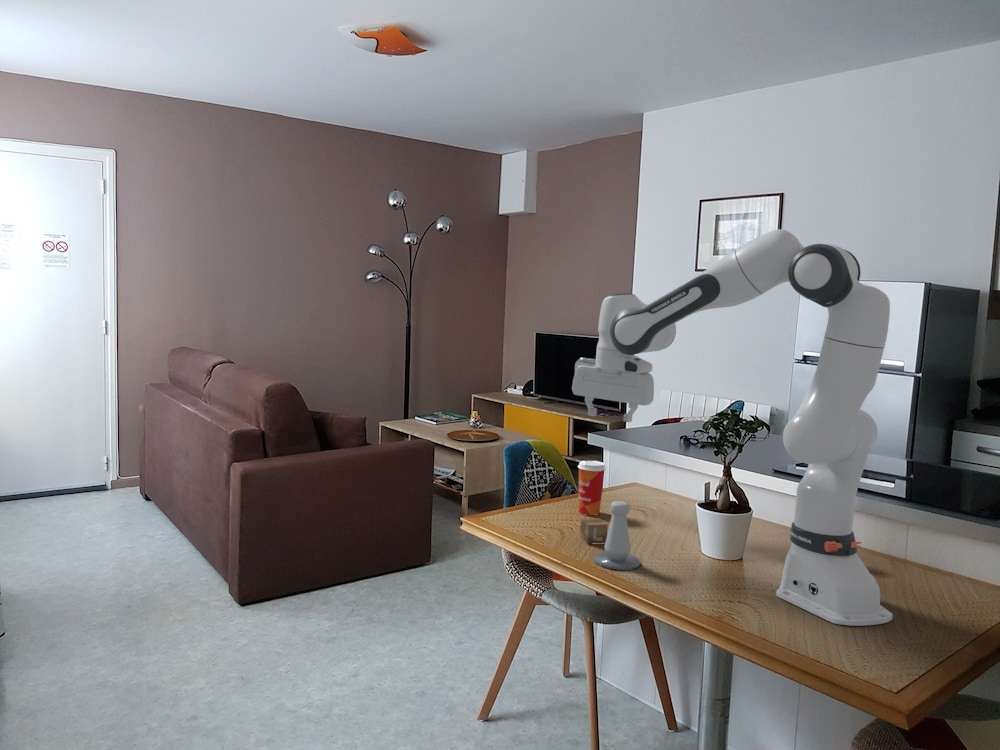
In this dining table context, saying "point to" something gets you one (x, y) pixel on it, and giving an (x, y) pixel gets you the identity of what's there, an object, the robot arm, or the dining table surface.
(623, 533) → the salt shaker
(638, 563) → the coaster
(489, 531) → the dining table surface
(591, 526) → the cube
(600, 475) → the paper cup
